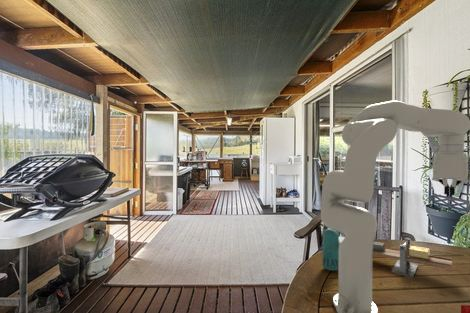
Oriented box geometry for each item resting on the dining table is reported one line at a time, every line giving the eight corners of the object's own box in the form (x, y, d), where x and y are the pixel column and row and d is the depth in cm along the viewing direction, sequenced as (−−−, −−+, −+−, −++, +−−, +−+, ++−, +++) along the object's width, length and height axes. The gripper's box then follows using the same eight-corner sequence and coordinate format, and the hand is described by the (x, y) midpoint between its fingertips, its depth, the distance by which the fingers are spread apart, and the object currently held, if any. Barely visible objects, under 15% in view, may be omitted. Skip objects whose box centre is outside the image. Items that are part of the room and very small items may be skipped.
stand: (412, 278, 93) (413, 249, 93) (391, 272, 98) (392, 244, 98) (417, 266, 103) (418, 239, 103) (398, 261, 108) (398, 235, 107)
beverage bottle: (320, 272, 98) (321, 223, 98) (323, 265, 104) (323, 218, 104) (338, 275, 95) (338, 225, 95) (339, 268, 101) (340, 220, 101)
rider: (428, 261, 93) (427, 252, 93) (409, 257, 97) (408, 249, 98) (430, 257, 97) (429, 248, 97) (411, 254, 101) (410, 245, 101)
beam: (451, 269, 88) (450, 255, 88) (366, 253, 107) (365, 242, 107) (452, 263, 93) (451, 250, 93) (371, 248, 112) (370, 238, 113)
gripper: (424, 149, 97) (424, 195, 98) (477, 149, 87) (476, 200, 87) (427, 149, 102) (426, 193, 103) (477, 149, 92) (476, 197, 93)
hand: (449, 196), depth 95 cm, fingers closed
